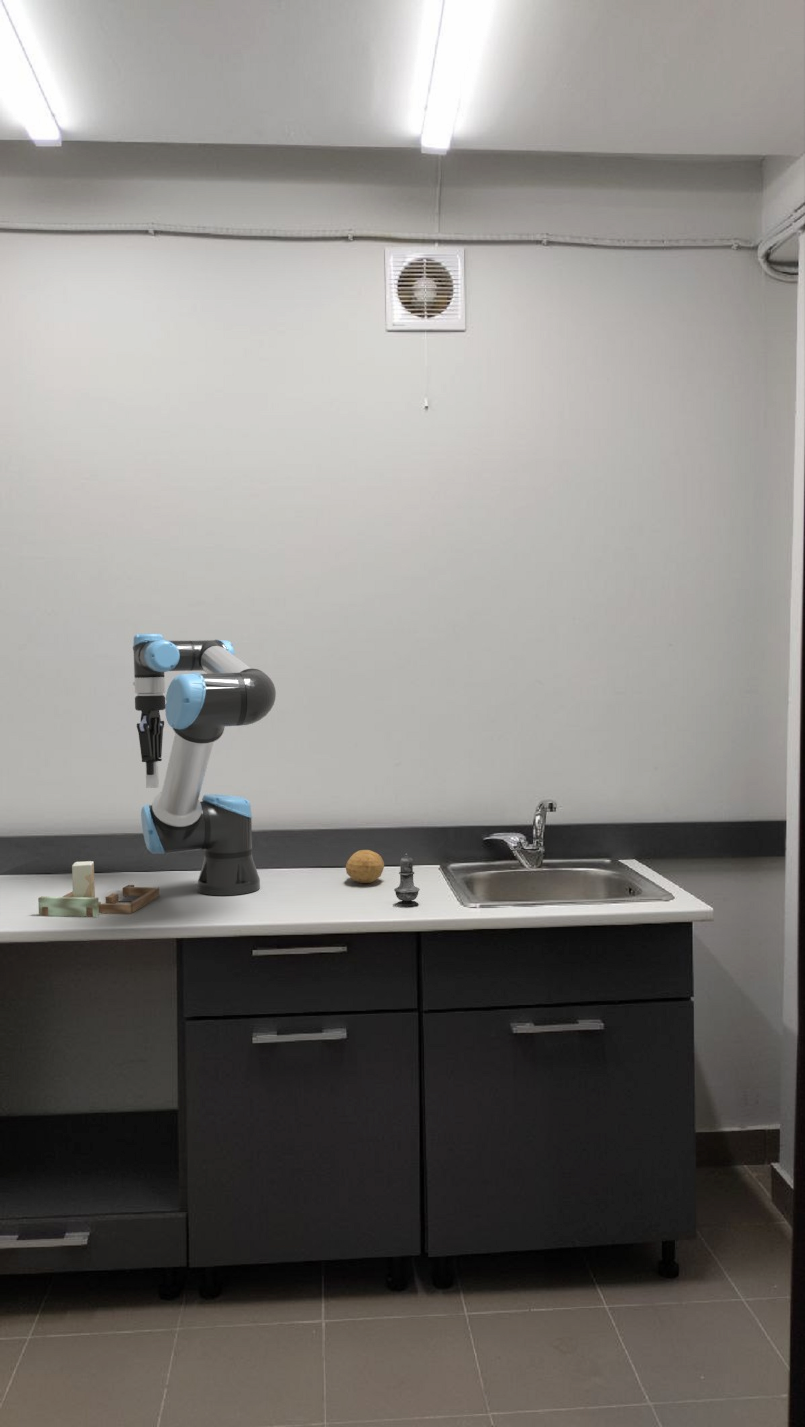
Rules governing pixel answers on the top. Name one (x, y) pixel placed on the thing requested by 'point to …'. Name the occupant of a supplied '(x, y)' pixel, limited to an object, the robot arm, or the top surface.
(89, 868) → the box
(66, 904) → the brown green flat frame
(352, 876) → the potato
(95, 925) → the top surface
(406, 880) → the salt shaker
